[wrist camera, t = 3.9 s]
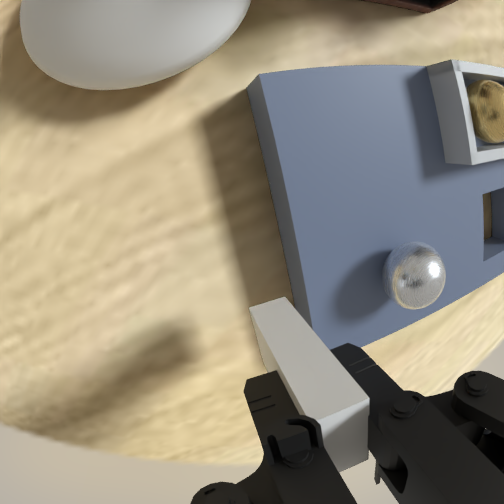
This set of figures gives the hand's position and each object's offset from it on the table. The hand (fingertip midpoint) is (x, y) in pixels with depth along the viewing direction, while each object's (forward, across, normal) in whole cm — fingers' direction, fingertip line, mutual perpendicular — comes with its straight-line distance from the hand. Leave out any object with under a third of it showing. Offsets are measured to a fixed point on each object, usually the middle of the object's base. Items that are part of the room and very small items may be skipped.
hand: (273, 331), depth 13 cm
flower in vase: (+4, -3, +17) cm, 18 cm away
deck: (+4, +13, +3) cm, 14 cm away
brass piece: (0, +14, +8) cm, 16 cm away
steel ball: (0, +7, 0) cm, 7 cm away
